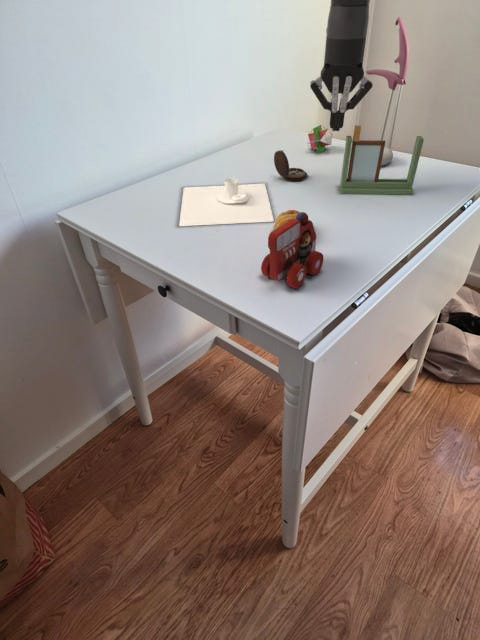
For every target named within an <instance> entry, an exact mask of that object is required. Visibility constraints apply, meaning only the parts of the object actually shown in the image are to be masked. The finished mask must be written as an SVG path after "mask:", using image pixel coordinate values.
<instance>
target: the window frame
mask: <svg viewBox="0 0 480 640" xmlns="http://www.w3.org/2000/svg"><path fill="white" fill-rule="evenodd" d="M352 141H353V136H352V135H346V138H345V146H344V151H343V152H344V153H343V161H342V167H341V176H340V182H339V191H340V194H346V195H347V194H348V195H350V194H352V195H353V194H354V195H404V196H405V195H409V196H410V195H412V194H413V185H414V181H415V178H416V173H417V170H418V165H419V162H420V157H421V153H422V149H423V145H424V138H423V136H422V135H416V138H415V141H414V146H413V150H412V154H411V159H410V164H409V168H408V171H407V172H408V173H407V177H406V178H379V179H378V182H347V176H348V169H349V162H350V155H351V148H352Z"/></svg>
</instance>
